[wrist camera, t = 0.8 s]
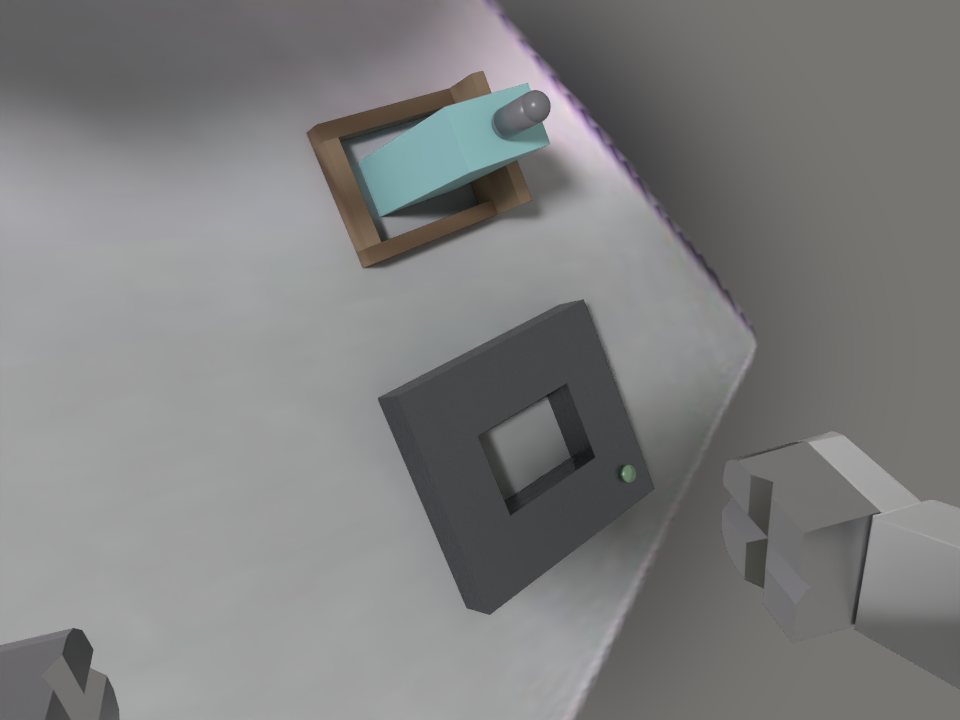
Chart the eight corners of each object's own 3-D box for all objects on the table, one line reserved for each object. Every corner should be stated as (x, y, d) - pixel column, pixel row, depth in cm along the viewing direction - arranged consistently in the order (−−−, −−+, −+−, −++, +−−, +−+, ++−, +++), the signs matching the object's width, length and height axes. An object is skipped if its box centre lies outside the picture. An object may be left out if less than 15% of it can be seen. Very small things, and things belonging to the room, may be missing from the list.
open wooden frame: (306, 133, 48) (334, 109, 45) (448, 93, 54) (483, 70, 51) (362, 268, 49) (394, 255, 46) (495, 214, 55) (531, 200, 52)
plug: (357, 162, 50) (487, 79, 39) (433, 139, 53) (573, 55, 42) (380, 217, 50) (514, 150, 39) (453, 190, 54) (596, 121, 42)
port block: (377, 398, 49) (401, 395, 47) (560, 304, 58) (587, 298, 56) (466, 608, 51) (493, 615, 49) (629, 487, 60) (658, 488, 58)
